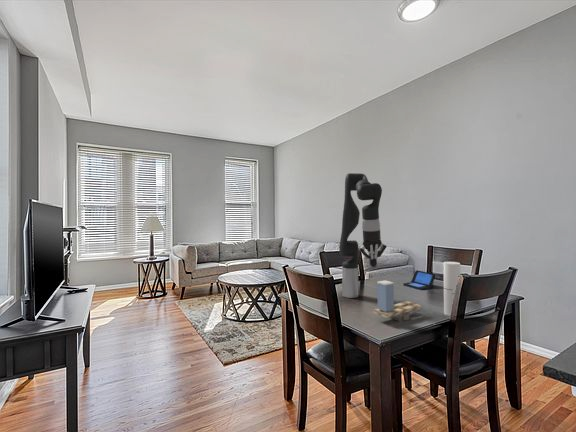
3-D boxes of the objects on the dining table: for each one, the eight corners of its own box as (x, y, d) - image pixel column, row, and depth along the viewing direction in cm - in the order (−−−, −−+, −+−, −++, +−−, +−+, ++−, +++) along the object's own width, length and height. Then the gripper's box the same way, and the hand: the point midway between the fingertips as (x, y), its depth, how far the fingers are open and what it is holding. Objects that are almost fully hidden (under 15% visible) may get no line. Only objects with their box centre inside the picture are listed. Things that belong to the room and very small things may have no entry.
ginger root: (386, 325, 134) (386, 314, 134) (373, 320, 141) (372, 309, 141) (421, 315, 146) (421, 305, 146) (407, 310, 153) (407, 300, 153)
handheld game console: (402, 285, 205) (402, 272, 205) (416, 283, 211) (415, 269, 211) (422, 290, 191) (421, 276, 191) (436, 288, 198) (435, 273, 197)
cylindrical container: (445, 310, 153) (445, 261, 152) (461, 313, 148) (461, 262, 148) (442, 314, 147) (441, 263, 147) (459, 317, 143) (458, 264, 142)
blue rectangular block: (386, 315, 136) (385, 284, 136) (377, 312, 141) (377, 281, 141) (394, 313, 139) (393, 282, 139) (385, 310, 143) (384, 280, 143)
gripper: (360, 232, 130) (362, 271, 132) (389, 228, 132) (391, 266, 134) (353, 229, 137) (356, 266, 140) (381, 225, 139) (383, 262, 141)
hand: (373, 266), depth 137 cm, fingers closed
